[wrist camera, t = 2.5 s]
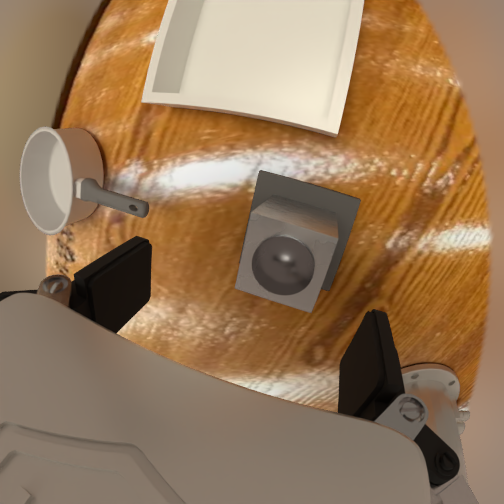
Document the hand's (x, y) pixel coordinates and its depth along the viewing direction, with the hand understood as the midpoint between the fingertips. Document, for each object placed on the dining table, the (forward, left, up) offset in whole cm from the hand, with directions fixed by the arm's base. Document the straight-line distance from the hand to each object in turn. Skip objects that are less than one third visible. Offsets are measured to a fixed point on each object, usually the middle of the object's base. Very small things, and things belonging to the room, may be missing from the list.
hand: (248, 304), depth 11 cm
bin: (+5, -15, -13) cm, 20 cm away
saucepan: (+20, 0, -13) cm, 24 cm away
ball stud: (-1, 0, -13) cm, 13 cm away
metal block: (-1, 0, -12) cm, 12 cm away
